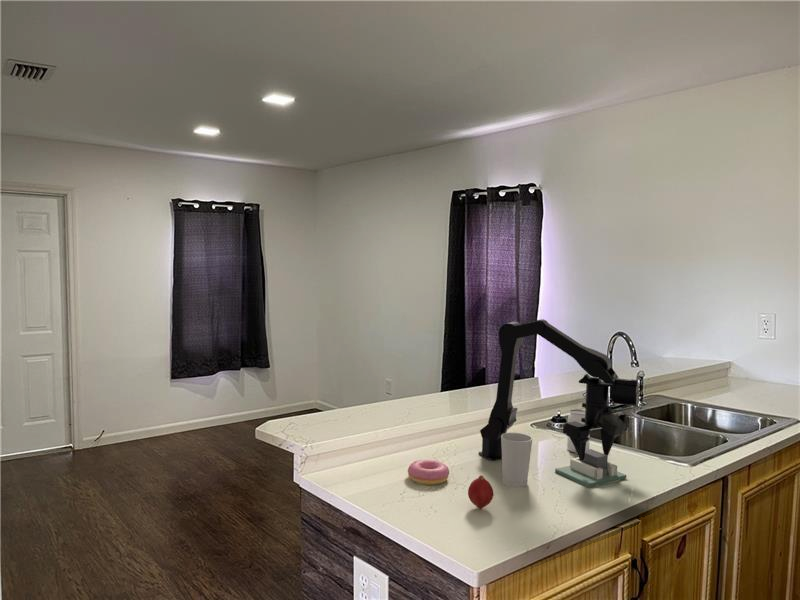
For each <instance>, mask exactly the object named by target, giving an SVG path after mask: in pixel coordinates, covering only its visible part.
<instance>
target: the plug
mask: <svg viewBox="0 0 800 600" xmlns="http://www.w3.org/2000/svg"><path fill="white" fill-rule="evenodd" d="M608 457H609V454H608V455H605V454H604V452H600V451H598V450H595V449H592V448H589V449H588V450H585V457H584V461H582V460H580V461H581V462H583V463H586V464H588V465H591V466H593V467H595V468H602V469H603V476H607V462H609V461H608V459H609V458H608ZM603 476H602V477H603Z"/></svg>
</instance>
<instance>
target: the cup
mask: <svg viewBox="0 0 800 600" xmlns="http://www.w3.org/2000/svg"><path fill="white" fill-rule="evenodd" d="M532 445H533V437H532V436H531V435H528V434H526V433H522V432H506V433H505V434H502V435H501V446H502V458H501V463H502V464H501V465H502V483H503V484H504V485H506V486H508V487H512V488H523V487H527V486H528V480H529V479H528V478H529V469H530V462H531V455H532V454H531V453H532Z"/></svg>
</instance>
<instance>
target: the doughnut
mask: <svg viewBox="0 0 800 600" xmlns="http://www.w3.org/2000/svg"><path fill="white" fill-rule="evenodd" d="M449 469H450V468H449V467H448V466H447V465H446V464H445V463H443V461H439V460H436V459H420V460H415V461H413V462H412V463H410V464H409V466H408V468H407V475H408V477H409V479H410V480H411V481H413V482H414V483H416V484H418V485H424V486H436V485H440V484H443V483H444V482H446V481H447V480H448V479H449V475H450V470H449Z"/></svg>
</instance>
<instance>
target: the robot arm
mask: <svg viewBox="0 0 800 600" xmlns="http://www.w3.org/2000/svg"><path fill="white" fill-rule="evenodd" d="M497 334H498V345H499V348H500V349H499V350H500V352H501V355H500V364H499V372H498V381H497V390H496V397H495V398H496V399H495V401H494V404H493V407H492V409H491V411H490V414H489V418H488V421H487V422H488V423H487V424H486V425H485V426H484V427H482V428H481V429H480V430H479V432H480V435H481V438H482V439H481V441H482V444H481V445H482V446H481V451H478V455H480V456H482V457H484V458H486V459H488V460H491V461H495V460H500V459H501V460H502V446H501V435H502V434H505V433H508V430H509V429H511V428H512V427H513V425H514V423H516V422H517V413H518V407H514V406H513V403H512V400H513V391H514V382H515V373H516V364H517V356H518V353H519V351H520V348H521V347H522V344H523V341H524V338H525V337H530V336H536V335H538V336H540V337H541V338H543V339H545V340H546V341H547V342H549V343H550V344H551V345H554V347H556V348H557V349H559V350H561V351H562V352H563V353H565V354H567V355H568V356H570V358H573V360H575V361H576V362H577V364H578V365H579V366H580V367H581V368H582V370H584V371H585V372H586V373H585V374H584V375H583V376H582V377H581V378H580V379H579V380H578V383H579V384H584V385H586V387H585V388H586V389H585V402H582V403H581V408H585V409H584V410H585V418H581V422H584V423H585V424H581V423H578V422H568V421H567V422H565V423H564V424H562V425H563V426H562V433H563V434H565V435H566V436H567V437H568V436H569V437H570V439H571V441H572V443H573V445H574V447H575V449H576V452H577V453H576V454H577V456H578V457H579V459H580V460H582V461H584V457H585V448H586V442H587V441H588V440H589V439H590V440H591V437H590V438H588V436H589V434H590V435H591V432H592V431H593V432H594V431H598V430H599V431H600V437H601V446H602V451H603V452H602V453H603V454H605V455H608V456H609V454H610V451H611V449H612V447H613V444H614V442H615V441H616V438H617V437H619V436H620V435H621V436H622V435H623V434H624V432H625V431H628V429H629V428H630V425H629V424H630V416H629V415H628V414H627V413H621V414H620V415H619V414H614V413H613V408H612V406H611V405H609V399H610V400H611V402H613V403H614V404H617V405H624V406H631V407H638V404H639V399H640V391H639V380H638V379H625V378H619V376H618V374H617V373H616V372H615V370H614V369H613V367H612V361H611V359H610V357H609V356H608V355H606V354H605V353H603V352H599V351H598V350H596V349H593V348H590V347H587V346H585V345H583V344H582V343H579V342H578V341H576V340H575V339H573V338H572V337H570V336H568V335H567V334H566V333H564V332H562V331H561V330H559V329H558V328H556V327H555V326H554V325H552V324H550V323H549V322H548V320H546V319H544V318H542V319H541V318H540V319H537V320H535V321H529V322H525V323H520V322H518V321H512V322H507V323H504V324H502V325H501V326H500V327H499V328H498V333H497ZM609 389H610V391H609Z"/></svg>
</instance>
